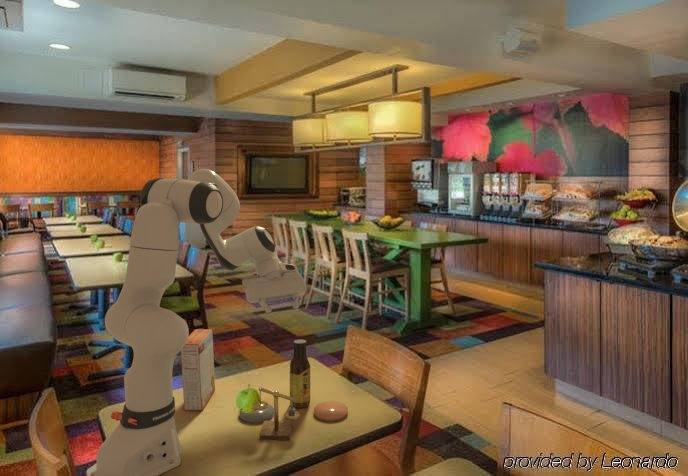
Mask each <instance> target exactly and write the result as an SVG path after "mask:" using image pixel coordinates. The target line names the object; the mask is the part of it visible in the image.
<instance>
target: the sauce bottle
mask: <svg viewBox="0 0 688 476" xmlns="http://www.w3.org/2000/svg"><path fill="white" fill-rule="evenodd" d="M307 345H308V344H307V340H305V339H301V338H300V339H295V340H294V341H293V344H292V346H293V357H292V358H291V360H290V363H289V396H290V397H293V401H292V407H295V409H296V408H297V409H301V408H305V407H308V406H309V405H310V402H311V401H310V400H311V364H310V362H309V358H308V356H307ZM289 401H290V402H289V403H290V405H291V400H289Z"/></svg>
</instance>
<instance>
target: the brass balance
mask: <svg viewBox="0 0 688 476" xmlns="http://www.w3.org/2000/svg"><path fill="white" fill-rule="evenodd" d="M258 391H259V401H255V402H254V404H253V403H252V404H253V408H254V409H257V410H262V409H265V408H267V407H268V404H269V403H268V402H267V401H265V400H262V393H265V394H268V395H271V396H273V408H274V416H273V419H274V420H268V421H264V422H262V426H261V428H260V429H261V430H260V433H259V441H260V440H266V441H267V440H269V441H270V440H272V441H279V440H280V441H281V440H282V441H284V440H285V441H287V440H289V441H290V439H291V435H292V430H293V425H294V424H293V420H297V419H299V417H300V412H299V411H296V407H293V406H292V401H293V397H290V395H286V394H283V393H280V392H279V391H278V390H269V389H267V388H264V387H259V388H258ZM279 398H282V399H285V400H288V401H290V400H291V404H290V406H291V407H289V408H288V411H286V412H285V413H284V418H285V419H287V420H280V419H279V417H280V415H279Z"/></svg>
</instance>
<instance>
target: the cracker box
mask: <svg viewBox="0 0 688 476" xmlns="http://www.w3.org/2000/svg"><path fill="white" fill-rule="evenodd" d="M213 339H214V337H213V329H212V328H211V329H206V328H205V329H204V328H203V329H202V328H198V329H195V328H194V330H193V331H192V332H191V333H190V334H189V335H188V339H187V342H186V344H185V346H184V347H183V348H182V350H181V351H180V357H181V358H180V359H181V374H182V375H181V376H182V392H183V394H182V395H183V407H184V411H187V412H188V411H195V412H196V411H197V412H201V411H203V410H204V409H205V408H206V405H207V404H208V402H209V401H210V400H211V397H212V396H213V395H214V393H215V391H216V383H215V381H216V380H215V379H216V377H215V364H214V363H215V361H214V359H215V358H214V340H213Z"/></svg>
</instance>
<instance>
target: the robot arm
mask: <svg viewBox="0 0 688 476" xmlns="http://www.w3.org/2000/svg"><path fill="white" fill-rule="evenodd" d="M240 202H241V201H240V198H239V197H238V195H237V194H236V192H235V191H234V190H233V188H232V187H231V186H230V185H229V184H228V183H227V182H226V181H225V180H224V178H222V177H221V176H220V175H218V173H216V172H215V171H213V170H211V169H208V168H199V169H197V170H194V171H193V172H192V173H190V174H189V175H188V177H187V179H185V178H165V177H158V178H153V179H150V180H148V181H147V182H145V184H144V185H143V187H142V189H141V191H140V194H139V205H140V207H139V209H137V212H136V216H135V219H134V221H133V225H132V230H131V233H130V234H131V235H130V240H129V250H128V259H127V267H126V273H125V278H124V282H123V285H122V289H121V291H120V293H119V295H118V298H117V299H116V302H115V303H113V304H112V305H111V306H110V307H109V308H108V309H107V312H106V314H105V315H104V327H105V330H106V331H107V332H108V333H109V334H110V335H111V336H112V337H113V338H114V339H115V340H116V341H117V342H119V343H121V344H124V345H127V346H128V347H131V348H132V350H133V351H132V352H133V359H132V363H131V367H129V368H128V369H127V370H125V371H126V372H125V373H124V375H123V376H124V377H123V380H124V381H123V382H124V385H123V386H124V400H125V403H124V406H123V409H122V412H121V411H118V410H113V411H112V412H111V414H110V418H111V419H112V420H115V421H116V422H118V421H119V423H118V425H117V426H116V427H115V428H114V430H113V431H112V432H111V433H110V435H109V436H108V437H107V438H106V439H105V440H104V441H103V442H102V444H101V445H100V446H99V448H98V450H97V453H96V462H95V463H94V464H93V465H91V466H90V467H89V468H88V469H87V470H86V474H85V475H86V476H159V475H161V474H164V473H166V472H168V471H170V470H172V469H174V468H176V467H178V466H179V465H181V464H182V461H181V455H182V452H183V447H182V444H181V443H180V438H179V434H178V431H177V426H176V419H175V414H176V400H175V396H173V395H174V394H173V393H174V391H173V369H174V363H175V359H176V356H177V355H178V354H179V352H181V350H182V348H183V347H184V346H185V344H186V342H187V339H188V337H189V335H190V334H189V331H190V330H189V326H188V323H187V322H186V320H184V318H182V317H181V316H180V315H178V314H177V313H176V312H174V311H173V310H171V309H167V308H164V307H161V306H160V304H161V301H162V297H163V295H164V293H165V291H166V290H167V288H169V287H170V286H172V285H173V283H174V282H175V278H176V268H177V263H178V261H177V260H178V252H179V251H178V250H179V237H180V236H179V230H180V229H179V227H180V224H181V223H183V224H198V225H199V226H200V230H201V232H202V234H203V236H204V238H205V240H206V242H207V243H208V245H209V246H210V248H211V250H212V252H213V253H214V255H215V257H216V260H217V262H218V264H219V265H220V266H221V268H222V269H225V270H228V271H232V272H233V271H234V270H237V269H238V268H240V267H242V266H243V265H245V264H247V263H250V262H251V261H252V262H253V264H254V270H255V273H256V275H250V276H249V275H247V276H246V275H245V276H244V278H243V279H242V280H241V284H242V287H243V288H244V292H245V297H246V302H248V303H249V304H257V303H259V306H260V307H262V308H263V309H264V311H265V313H266V314H268V313H271V312H272V311H273V309H272V306H271V305H268V303H266V302H270V301H277V300H282V299H284V300H285V299H289V298H293V299H292V300H294V301H293V302H292V304H291V305H292V309H299V307H300V304H299V298H300V297H303V296H305V294H306V292H307V290H308V286H307V283H306V281H305V279H304V276H303V275H302V274H301V273H300V272H299V270H298V266H297V265H295V264H290V263H286V262H282V261H281V259H280V257H278V250H277V248H276V243H275V240H274V238H273V235H272V233H271V232H270V231H269V230H268V229H267V228H265V227H262V226H260V225H259V226H258V225H255V226H252V227H250V228H248V229H245V230H244V231H241V232H239V233H237V234H236V235H233V236H231V237H230V238H226V239H225V238H224V239H223V238H222V235H221V233H222V232H223V231H225V229H227V228H229V226H231V225H232V224H233V223H234V222H235V221H236V219H237V218H238V216H239V214H240V212H241V211H240V210H241V203H240Z"/></svg>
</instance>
